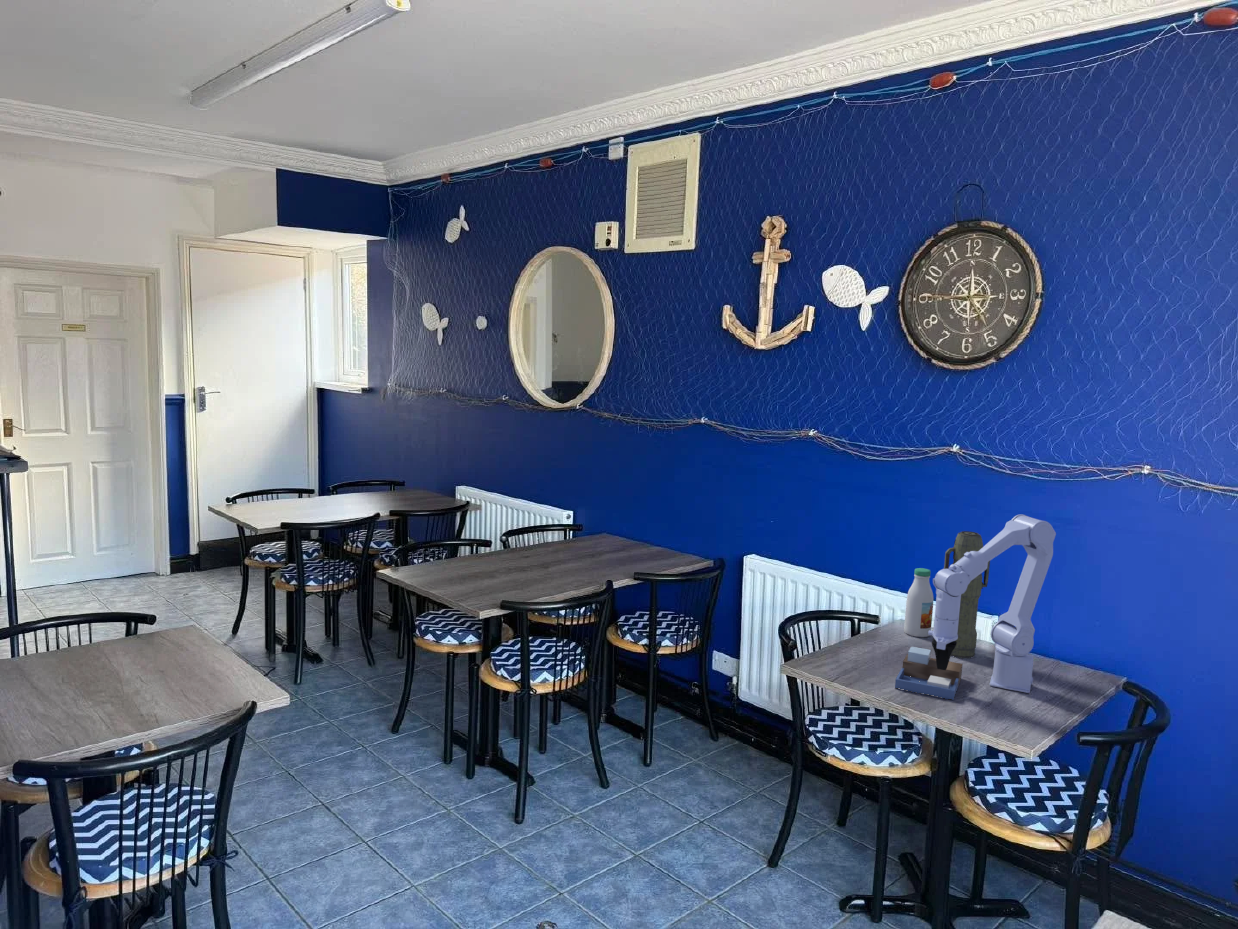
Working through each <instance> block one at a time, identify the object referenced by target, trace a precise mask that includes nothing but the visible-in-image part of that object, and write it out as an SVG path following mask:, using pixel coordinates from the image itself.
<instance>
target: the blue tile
mask: <svg viewBox="0 0 1238 929" xmlns="http://www.w3.org/2000/svg"><path fill="white" fill-rule="evenodd" d="M931 652H932V650H931V649H927V648H923V647H916V646H910V648H909V650H908V651H907V654H908V661H910V662H916V663H921V664H926V665H928V662H929V660H930V658H931Z"/></svg>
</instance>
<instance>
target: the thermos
mask: <svg viewBox="0 0 1238 929" xmlns="http://www.w3.org/2000/svg"><path fill="white" fill-rule="evenodd" d="M983 547H984V542H983V538H982V535H981V534H979V533H978V532H976V531H968V530H963V531H960V532H958V533H957V534H956V536H955V540H954V545H953V547H949V548H948V549H947V550H946V551H945V554H944V563H943V569H948V568H949V567H950V558H951V557H950V555H951V553H952V552H953V554H952V555H953V556H952V559H953V563H952V564H955V563H956V562H957V561H958V560H960V559H961V558H962V557H964V554H965V553H966V552H970V551H979V550H980V549H981V548H983ZM990 565H991V560H990V561H988V566H987V569H986V570H985V571H983V572H982V573H981V574H979V575H978V576H977V577H976V578H974V579H973V580H972V581H970V583H969V584H968V586H967V589H966V591H965V592H964V593H963V594H961V601H960V611H959V622H958V632H957V635H958V639H957V640H955V641H956V642H957V644H956V647H955V648H954V650H953V651H952V653H951V656H954V657H953V658H955V657H958V658H957V659H964V658H967V659H972V658H971V657H973V658H974V657H975V655H976V654H975V650H976V648H977V641H978V640H977V639H978V632H977V629H976V628H977V621H978V620H977V619H978V610H979V599H980V597H981V595H982V589H983V588H987V587H988V583H989V578H990V577H989V576H990ZM983 573H984V574H983ZM982 574H983V575H982ZM951 656H950V657H951Z"/></svg>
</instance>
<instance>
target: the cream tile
mask: <svg viewBox="0 0 1238 929" xmlns="http://www.w3.org/2000/svg"><path fill="white" fill-rule="evenodd" d="M927 685H932V686H937V687H942V688H947V689H950V687H951V679H947V678H942V677H937V676H932V675H930V677H929V679H928V681H927Z"/></svg>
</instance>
